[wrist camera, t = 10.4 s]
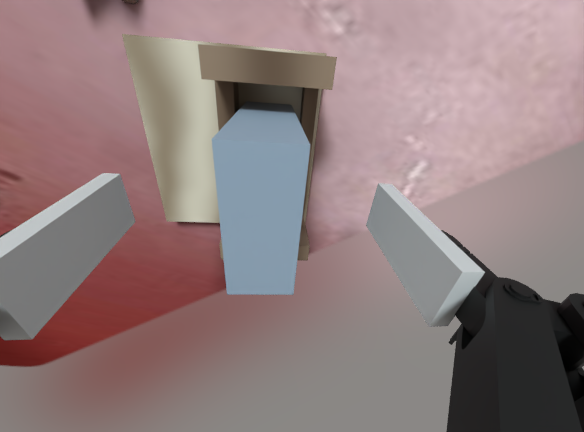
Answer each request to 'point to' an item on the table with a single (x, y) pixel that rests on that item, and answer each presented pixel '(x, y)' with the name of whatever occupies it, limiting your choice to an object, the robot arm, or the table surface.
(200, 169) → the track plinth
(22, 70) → the table surface
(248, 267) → the light blue rectangular block
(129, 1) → the stuffed animal
